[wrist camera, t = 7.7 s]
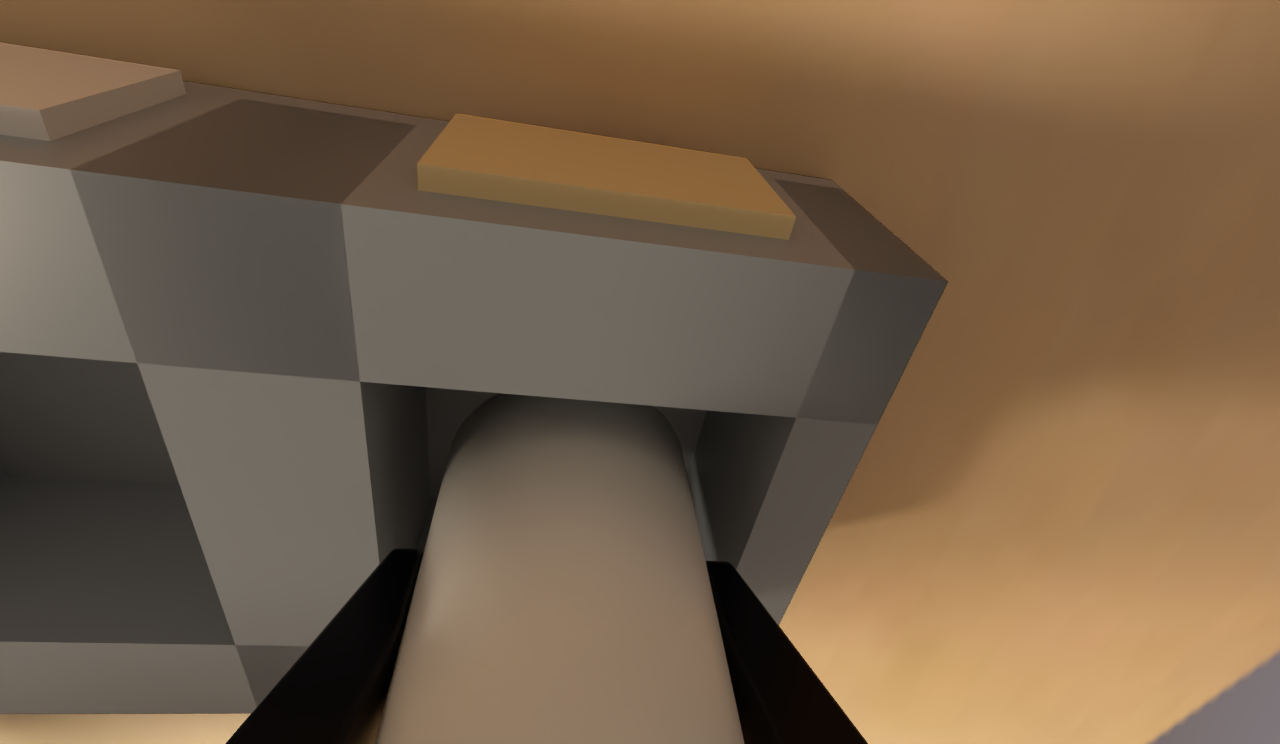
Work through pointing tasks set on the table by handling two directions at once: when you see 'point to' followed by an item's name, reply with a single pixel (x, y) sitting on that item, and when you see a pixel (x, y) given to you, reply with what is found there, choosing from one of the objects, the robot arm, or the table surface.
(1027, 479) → the table surface
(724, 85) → the table surface
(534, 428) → the beige and green cylinder
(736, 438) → the socket block
